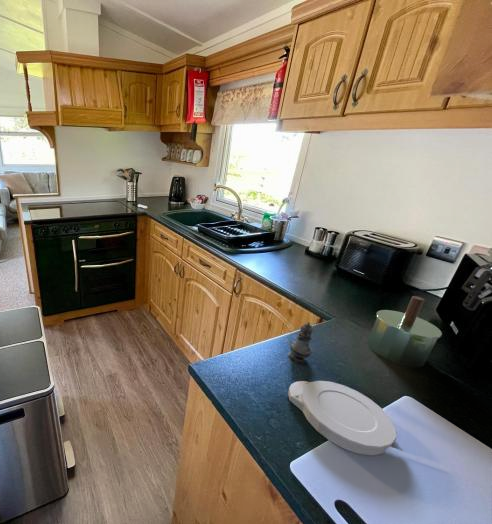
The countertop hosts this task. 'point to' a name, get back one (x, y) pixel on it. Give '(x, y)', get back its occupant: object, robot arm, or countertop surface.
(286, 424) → the countertop surface
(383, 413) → the lid
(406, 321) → the pot lid
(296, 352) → the grey chess piece
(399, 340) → the pot
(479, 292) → the robot arm
